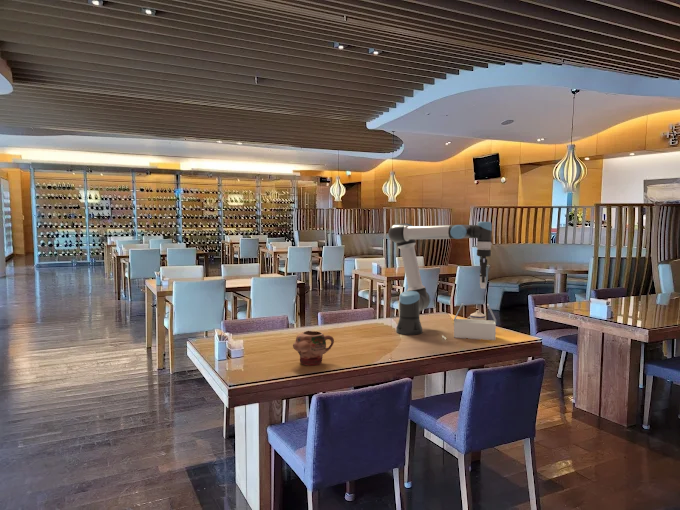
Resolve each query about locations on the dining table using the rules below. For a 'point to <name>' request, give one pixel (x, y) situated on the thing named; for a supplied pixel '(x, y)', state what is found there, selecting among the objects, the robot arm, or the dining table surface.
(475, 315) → the teacup with lid
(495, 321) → the flap
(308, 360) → the brown sculpted mug
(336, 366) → the dining table surface
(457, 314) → the flap
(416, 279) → the robot arm
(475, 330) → the carton
